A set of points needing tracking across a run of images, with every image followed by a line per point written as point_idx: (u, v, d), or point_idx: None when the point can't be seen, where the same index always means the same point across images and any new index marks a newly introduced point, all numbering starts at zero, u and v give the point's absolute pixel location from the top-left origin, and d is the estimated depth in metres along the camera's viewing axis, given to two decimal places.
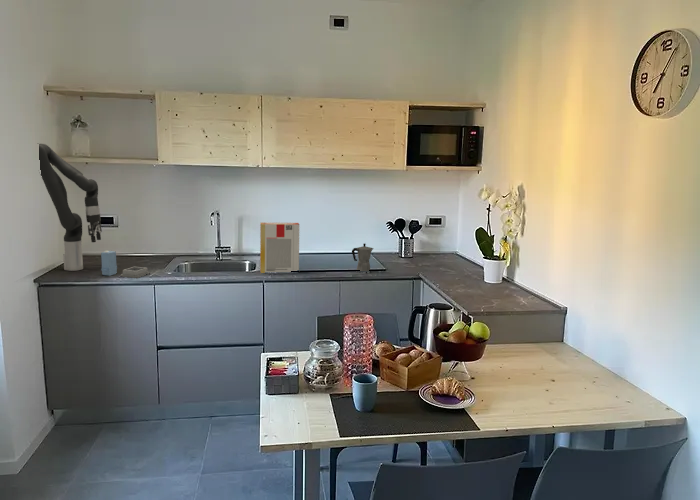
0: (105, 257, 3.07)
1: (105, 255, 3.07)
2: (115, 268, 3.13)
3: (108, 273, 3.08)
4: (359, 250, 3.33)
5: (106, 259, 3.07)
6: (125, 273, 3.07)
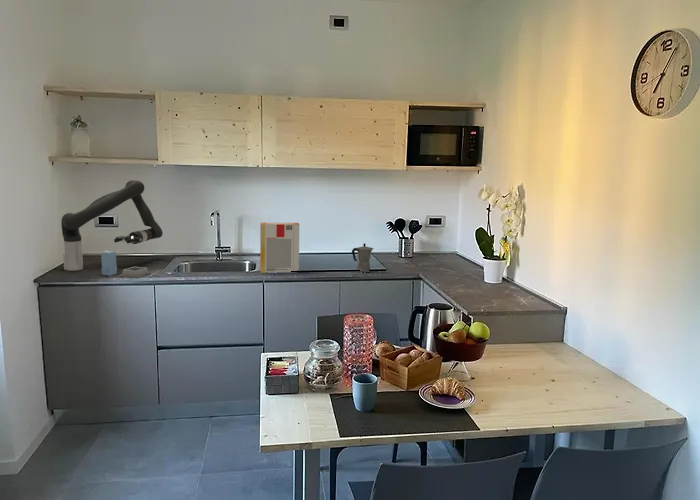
0: (105, 257, 3.07)
1: (105, 255, 3.07)
2: (115, 268, 3.13)
3: (108, 273, 3.08)
4: (359, 250, 3.33)
5: (106, 259, 3.07)
6: (125, 273, 3.07)
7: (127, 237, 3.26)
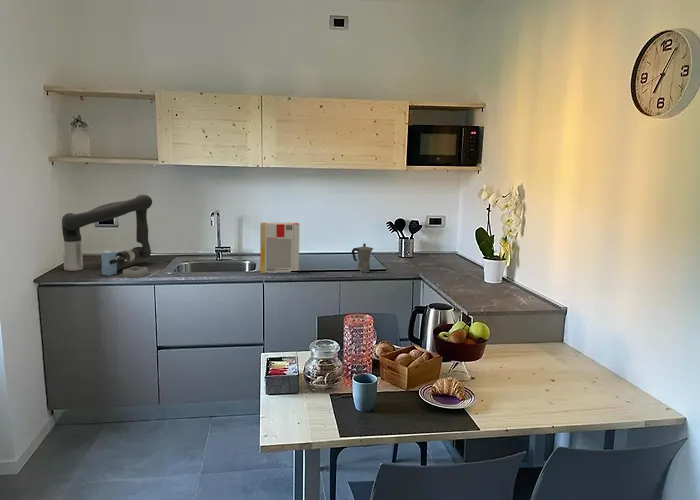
0: (105, 257, 3.07)
1: (105, 254, 3.07)
2: (115, 268, 3.13)
3: (108, 273, 3.08)
4: (359, 250, 3.33)
5: (106, 259, 3.07)
6: (125, 273, 3.07)
7: None
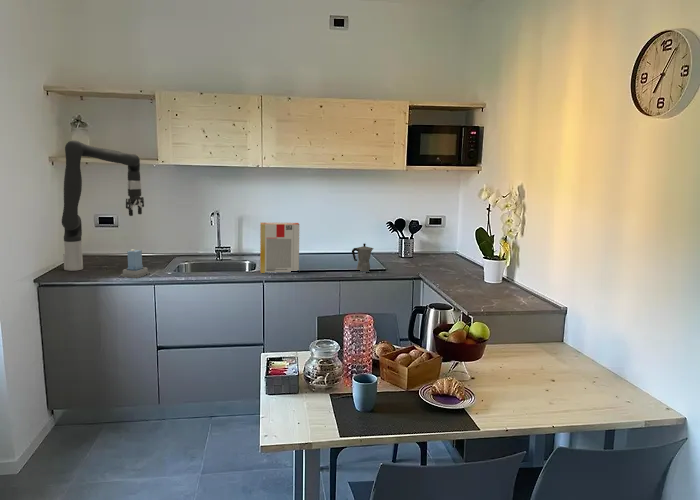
0: (132, 256, 3.06)
1: (132, 253, 3.06)
2: (141, 267, 3.12)
3: None
4: (359, 250, 3.33)
5: (132, 258, 3.06)
6: (125, 273, 3.07)
7: None
